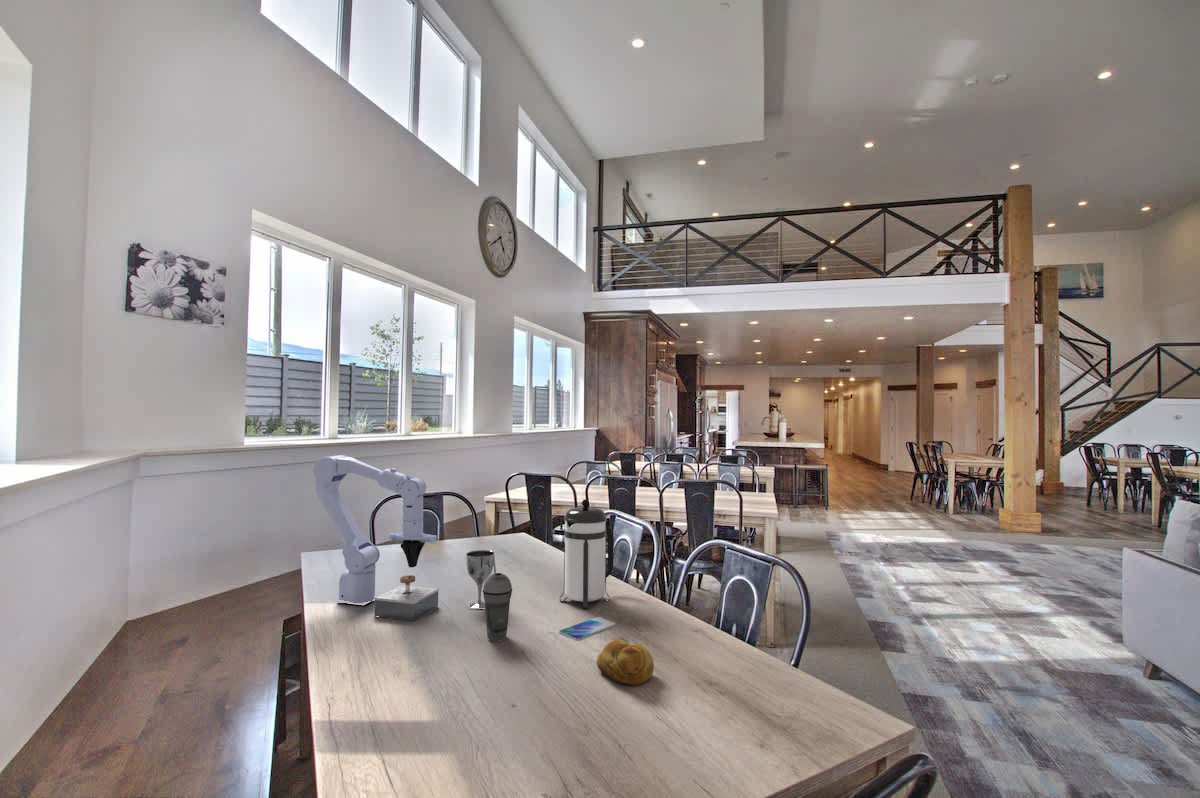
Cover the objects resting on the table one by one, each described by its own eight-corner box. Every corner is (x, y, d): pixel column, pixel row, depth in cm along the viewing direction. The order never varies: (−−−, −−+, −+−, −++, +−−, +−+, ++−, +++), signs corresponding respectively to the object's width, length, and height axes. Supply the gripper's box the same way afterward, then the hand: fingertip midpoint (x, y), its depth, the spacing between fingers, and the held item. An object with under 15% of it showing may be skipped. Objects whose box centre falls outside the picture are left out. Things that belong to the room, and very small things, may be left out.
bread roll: (586, 673, 118) (587, 634, 118) (618, 659, 125) (618, 623, 125) (631, 694, 109) (632, 653, 109) (663, 678, 115) (663, 639, 116)
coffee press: (613, 610, 157) (614, 503, 158) (557, 609, 157) (558, 502, 158) (613, 591, 174) (614, 495, 175) (562, 590, 174) (563, 494, 176)
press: (374, 616, 150) (374, 597, 150) (406, 600, 164) (406, 582, 164) (413, 621, 147) (413, 601, 147) (442, 604, 161) (442, 586, 161)
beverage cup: (505, 644, 132) (506, 560, 133) (476, 642, 133) (478, 558, 134) (516, 633, 139) (517, 552, 140) (488, 631, 140) (489, 551, 141)
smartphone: (618, 623, 145) (577, 639, 135) (618, 626, 145) (577, 643, 135) (598, 615, 150) (557, 630, 140) (598, 619, 150) (557, 634, 140)
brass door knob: (381, 602, 151) (381, 580, 151) (402, 591, 160) (403, 571, 160) (412, 605, 148) (412, 583, 149) (432, 594, 158) (432, 574, 158)
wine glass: (496, 602, 163) (497, 550, 163) (488, 611, 155) (489, 557, 156) (470, 601, 164) (471, 549, 164) (461, 610, 156) (462, 556, 156)
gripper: (442, 518, 165) (442, 564, 164) (399, 516, 168) (399, 561, 168) (429, 522, 158) (428, 570, 157) (385, 520, 162) (384, 567, 161)
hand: (412, 566), depth 162 cm, fingers closed
